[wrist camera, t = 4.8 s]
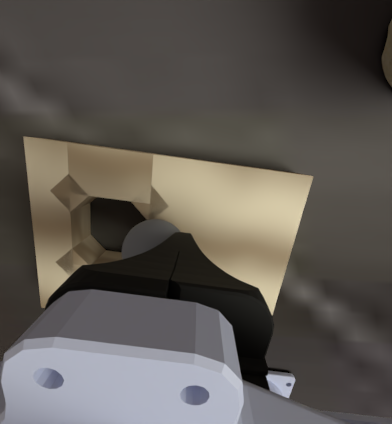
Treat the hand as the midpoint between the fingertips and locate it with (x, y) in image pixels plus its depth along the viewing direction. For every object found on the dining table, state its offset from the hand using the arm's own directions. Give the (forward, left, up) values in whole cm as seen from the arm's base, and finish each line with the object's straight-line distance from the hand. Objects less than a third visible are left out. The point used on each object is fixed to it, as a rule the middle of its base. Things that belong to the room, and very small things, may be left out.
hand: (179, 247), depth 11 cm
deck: (-1, +1, -4) cm, 4 cm away
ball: (0, +1, 0) cm, 1 cm away
